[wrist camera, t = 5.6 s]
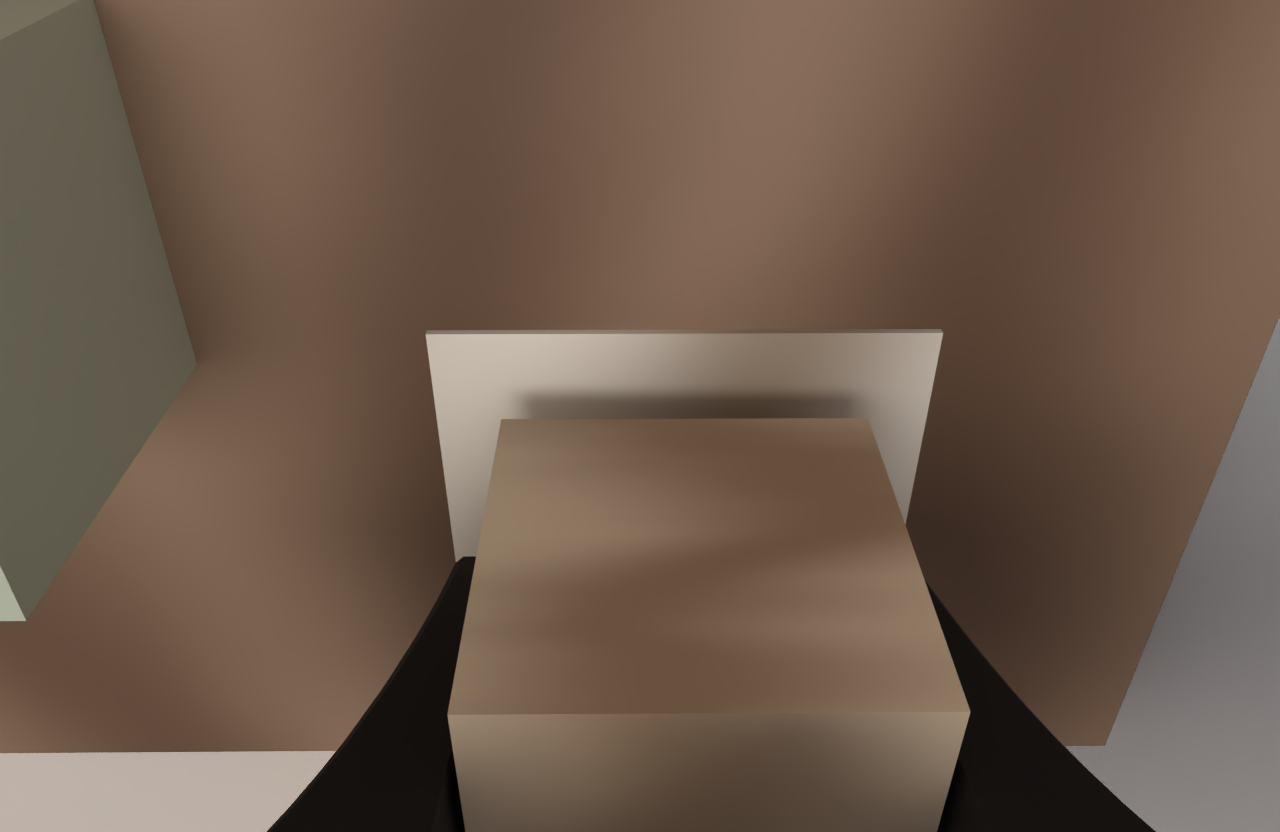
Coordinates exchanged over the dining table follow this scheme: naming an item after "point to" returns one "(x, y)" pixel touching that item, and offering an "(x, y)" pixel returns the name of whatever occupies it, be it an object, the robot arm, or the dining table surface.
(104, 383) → the sage block
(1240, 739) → the dining table surface
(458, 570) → the robot arm
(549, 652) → the beech block
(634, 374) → the board
